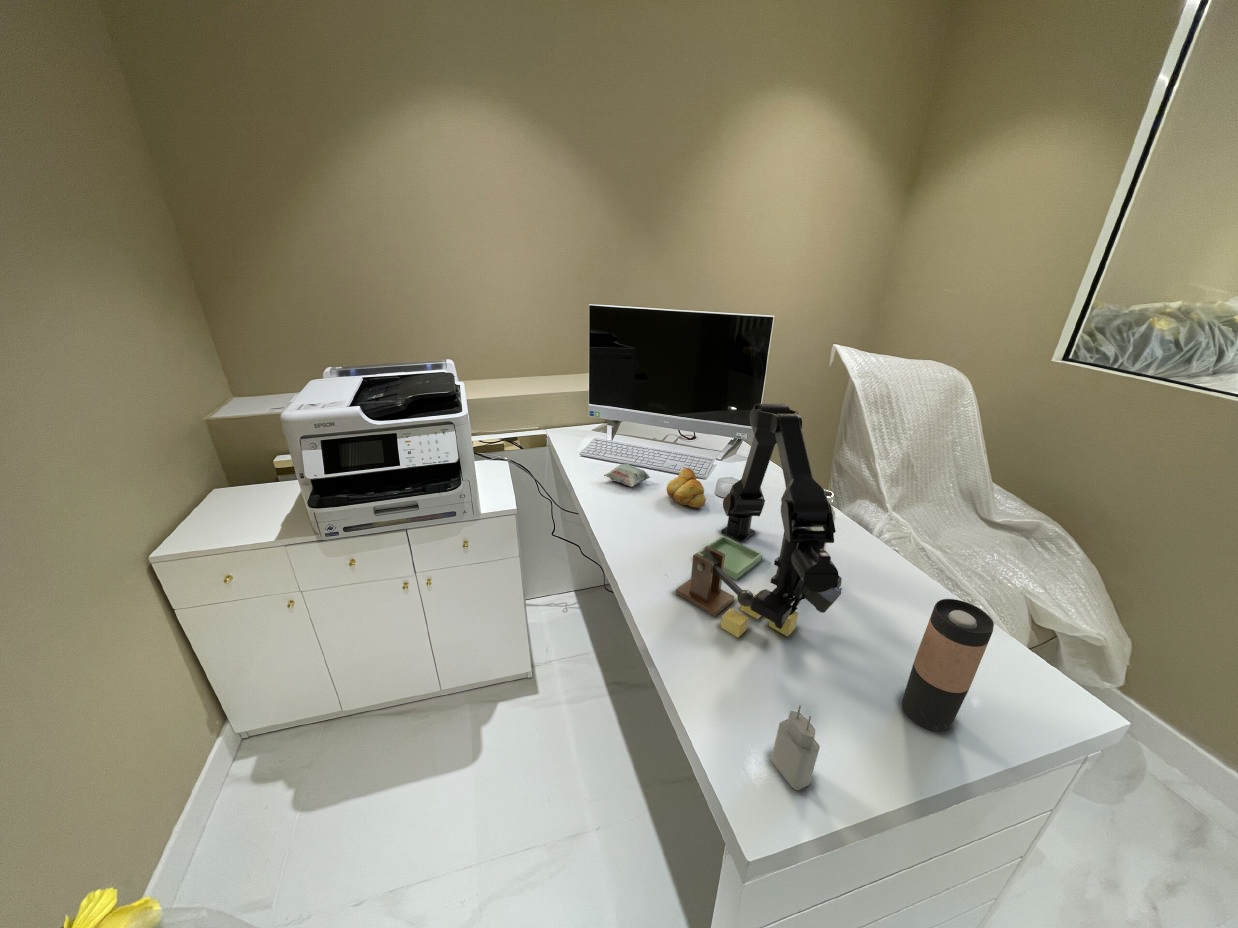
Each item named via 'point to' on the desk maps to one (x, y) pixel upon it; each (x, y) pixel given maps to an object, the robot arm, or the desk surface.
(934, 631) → the travel mug
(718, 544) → the tray
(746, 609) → the butter
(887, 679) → the desk surface
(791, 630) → the block
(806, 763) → the power adapter
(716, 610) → the brown lever stand
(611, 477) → the packaged food
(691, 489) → the bread roll
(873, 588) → the desk surface
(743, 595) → the ball knob lever
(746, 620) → the butter
